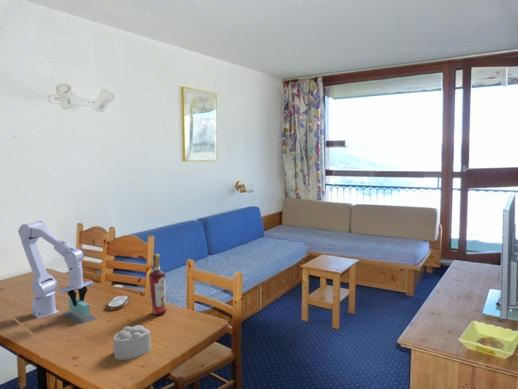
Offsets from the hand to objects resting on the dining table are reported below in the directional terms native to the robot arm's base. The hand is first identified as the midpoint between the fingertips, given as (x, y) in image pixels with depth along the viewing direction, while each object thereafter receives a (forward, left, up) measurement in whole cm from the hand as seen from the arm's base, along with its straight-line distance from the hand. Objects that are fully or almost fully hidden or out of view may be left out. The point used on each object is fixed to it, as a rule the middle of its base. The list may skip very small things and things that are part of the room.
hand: (78, 304), depth 178 cm
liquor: (+26, -26, -6) cm, 37 cm away
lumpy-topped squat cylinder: (-1, -48, -6) cm, 48 cm away
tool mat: (0, 0, -6) cm, 6 cm away
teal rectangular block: (0, -1, -3) cm, 3 cm away
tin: (+15, +1, -4) cm, 16 cm away
